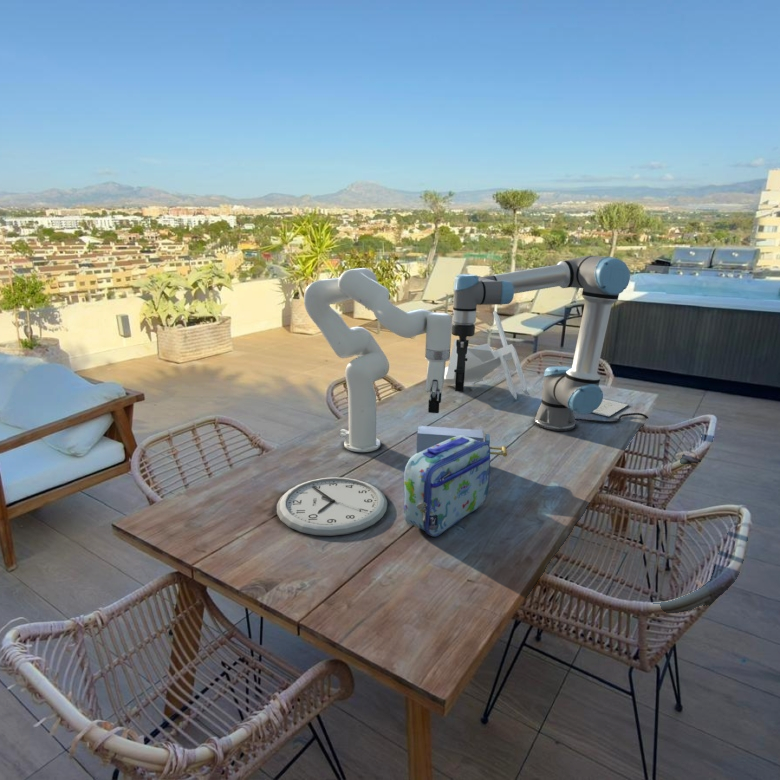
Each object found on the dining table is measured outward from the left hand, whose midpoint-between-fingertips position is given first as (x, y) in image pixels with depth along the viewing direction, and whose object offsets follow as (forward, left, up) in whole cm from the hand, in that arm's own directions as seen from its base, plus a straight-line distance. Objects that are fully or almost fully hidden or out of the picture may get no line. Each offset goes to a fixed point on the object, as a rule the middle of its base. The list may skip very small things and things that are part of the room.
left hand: (434, 407), depth 163 cm
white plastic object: (-10, +82, -19) cm, 84 cm away
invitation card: (+43, +88, -19) cm, 100 cm away
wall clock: (-14, -38, -19) cm, 45 cm away
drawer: (+10, +4, -18) cm, 21 cm away
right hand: (+2, +18, +3) cm, 18 cm away
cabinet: (+5, +2, -19) cm, 20 cm away
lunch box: (+16, -29, -19) cm, 38 cm away
